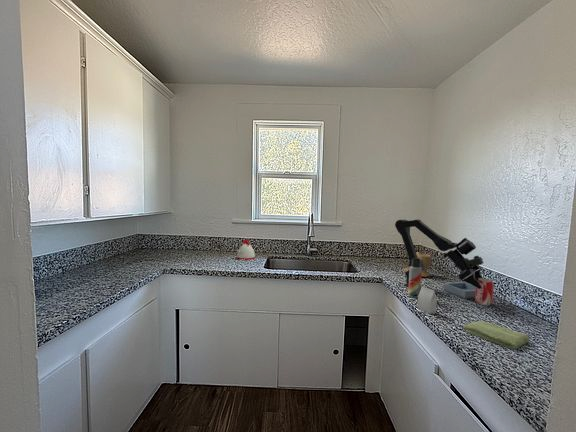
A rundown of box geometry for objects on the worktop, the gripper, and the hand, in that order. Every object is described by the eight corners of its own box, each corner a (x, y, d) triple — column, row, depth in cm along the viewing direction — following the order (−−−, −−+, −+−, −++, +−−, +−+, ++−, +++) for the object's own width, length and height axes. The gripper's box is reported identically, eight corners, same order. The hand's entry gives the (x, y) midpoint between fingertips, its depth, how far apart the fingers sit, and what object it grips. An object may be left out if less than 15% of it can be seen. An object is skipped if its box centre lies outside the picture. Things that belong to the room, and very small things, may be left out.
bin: (464, 299, 148) (465, 291, 148) (443, 290, 162) (443, 283, 161) (486, 297, 152) (487, 289, 152) (463, 288, 165) (464, 282, 165)
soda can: (471, 301, 145) (473, 278, 144) (481, 300, 147) (483, 277, 146) (485, 307, 138) (487, 282, 137) (495, 305, 140) (497, 281, 140)
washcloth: (478, 324, 120) (478, 316, 119) (531, 343, 104) (531, 334, 104) (460, 331, 113) (461, 323, 112) (514, 353, 98) (515, 343, 97)
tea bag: (430, 313, 128) (431, 291, 128) (417, 308, 134) (418, 286, 134) (435, 312, 130) (437, 290, 129) (423, 307, 136) (424, 286, 135)
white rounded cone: (248, 255, 240) (249, 237, 239) (258, 258, 230) (258, 240, 229) (233, 257, 232) (234, 239, 230) (243, 261, 221) (243, 241, 220)
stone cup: (434, 277, 189) (436, 254, 188) (420, 278, 185) (421, 255, 184) (416, 271, 203) (418, 250, 202) (403, 272, 199) (404, 250, 198)
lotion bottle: (413, 298, 147) (415, 259, 146) (405, 294, 153) (407, 257, 151) (422, 297, 149) (424, 258, 148) (414, 294, 154) (416, 256, 153)
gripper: (467, 253, 139) (493, 280, 131) (477, 248, 152) (501, 273, 145) (448, 266, 145) (472, 293, 138) (459, 261, 158) (481, 285, 151)
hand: (482, 286), depth 142 cm, fingers open, 9 cm apart
